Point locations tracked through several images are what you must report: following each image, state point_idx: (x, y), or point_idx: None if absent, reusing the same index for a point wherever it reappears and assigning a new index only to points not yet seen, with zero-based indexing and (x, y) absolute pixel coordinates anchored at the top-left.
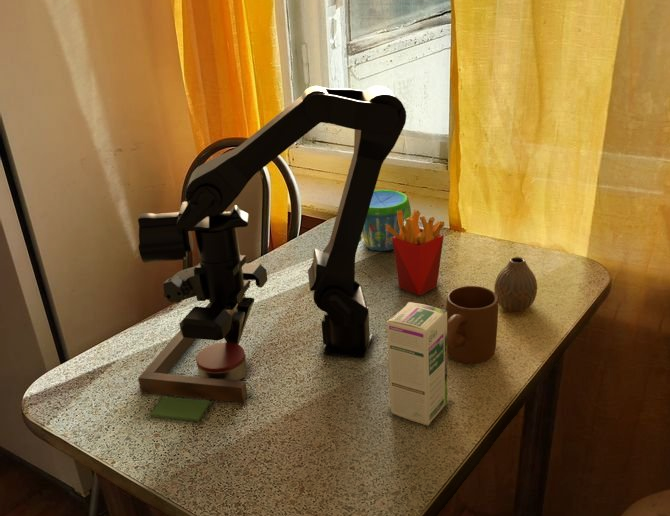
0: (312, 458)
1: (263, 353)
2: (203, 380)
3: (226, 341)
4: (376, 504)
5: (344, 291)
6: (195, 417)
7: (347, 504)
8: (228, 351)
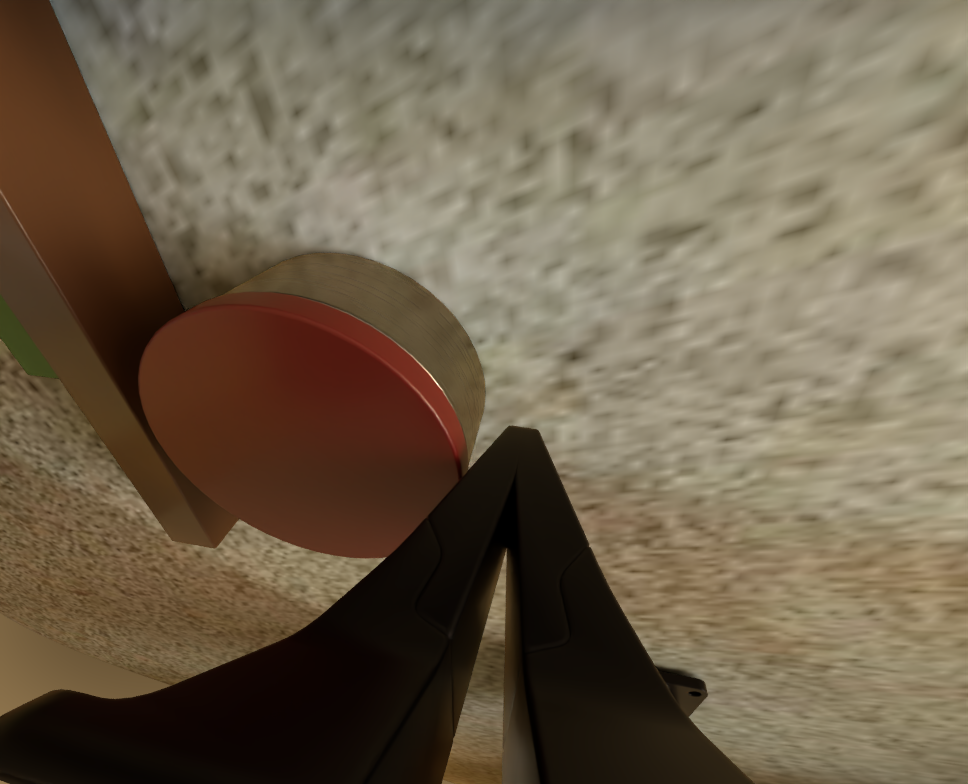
0: (155, 607)
1: None
2: (99, 398)
3: (481, 457)
4: (137, 655)
5: None
6: (25, 362)
7: (108, 633)
8: (354, 493)
